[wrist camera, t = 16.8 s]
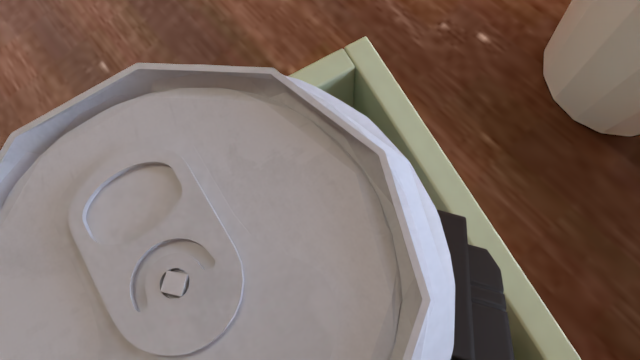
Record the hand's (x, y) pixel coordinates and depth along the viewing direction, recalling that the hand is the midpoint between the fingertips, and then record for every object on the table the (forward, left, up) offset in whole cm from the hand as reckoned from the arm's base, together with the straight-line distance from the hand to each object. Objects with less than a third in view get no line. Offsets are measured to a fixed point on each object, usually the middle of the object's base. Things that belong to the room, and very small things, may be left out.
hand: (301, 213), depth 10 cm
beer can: (-1, -1, -6) cm, 7 cm away
